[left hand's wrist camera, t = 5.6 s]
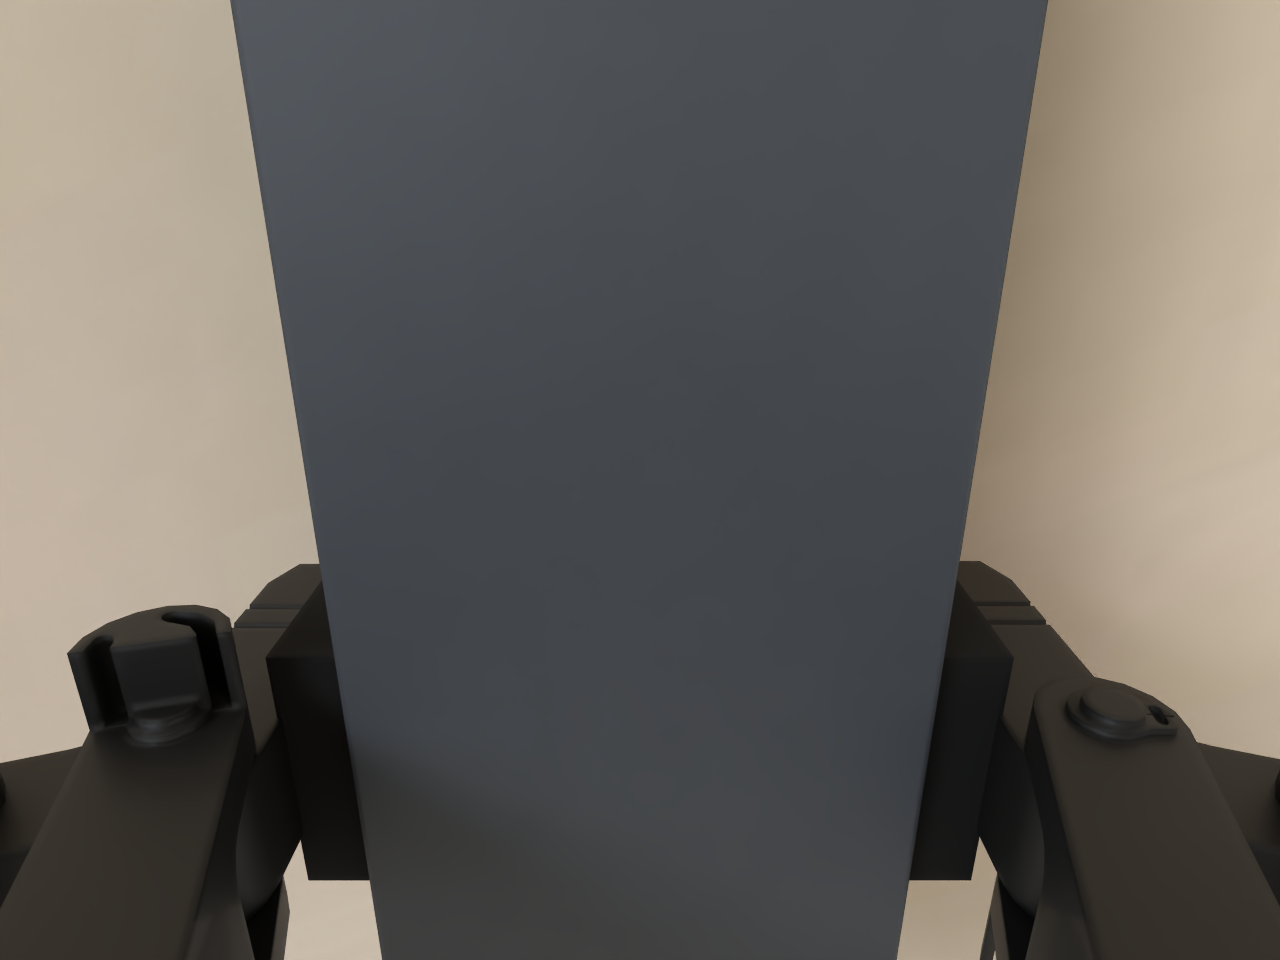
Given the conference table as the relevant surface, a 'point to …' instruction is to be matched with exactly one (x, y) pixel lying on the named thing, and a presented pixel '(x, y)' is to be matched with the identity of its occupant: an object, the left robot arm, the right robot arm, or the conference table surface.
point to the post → (639, 443)
